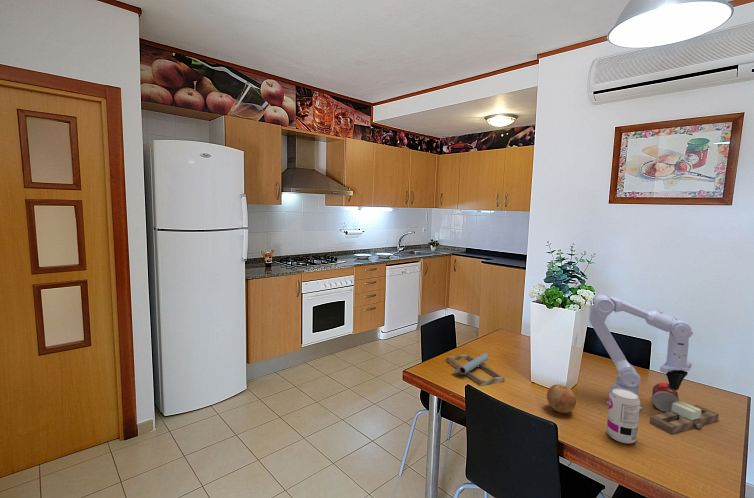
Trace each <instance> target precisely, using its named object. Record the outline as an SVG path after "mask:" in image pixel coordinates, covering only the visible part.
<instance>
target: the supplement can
mask: <svg viewBox="0 0 754 498" xmlns="http://www.w3.org/2000/svg"><path fill="white" fill-rule="evenodd" d="M608 401H609V404H608V411H607V423H606V434H607V435H608V436H609V437H611V439H613V440H615V441H617V442H620V443H622V444H628V445H629V444H633V443H636V442H637V439H638V430H639V420H640V419H639V417H640V410H641V409H640V407H641V401H640V399H639V394H638V395H637V394H635V393H633V392H631V391H629V390H625V389H613V390H612V392H611V393H610V398H609V397H608Z"/></svg>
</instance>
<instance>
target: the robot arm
mask: <svg viewBox="0 0 754 498" xmlns="http://www.w3.org/2000/svg"><path fill="white" fill-rule="evenodd" d="M594 297H595V298H594ZM592 300H593V304H594V305H593V306H592V305H591V304H592ZM612 312H614V313H619V312H625V313H627V314H630V315H633V316H635V317H638V318H640V319H643V320H645V322H646V324H647V325H649V326H651V327H654V328H656V329H658V330H661V331H663V332H665V333H669V334H668V341H667V353H666V354H667V355H666V360H665V361H666V362H665V363H663V365H660V367H659V368H660V369H659V372H661V373H664V374H665V375H666V377H667V381H668V384H669V386H670V388H671V389H674V390H677V391H679V389H680V387H681V384H682V382H683V380H684V379H685V377H687V376H688V373H689V371H691V369H692V363H691V362H689V361H688V353H689V344H690V343H689V339H690V338H691V337H692V336H693V334H694V331H693V330H692V327H691V326H690V324H688V323H686V322H685V321H683V320H682V319H680V318H678V317H676V316H673V317H672V316H670V315H667V314H665V313H664V311H661V310H658V309H657V310H653V309H652V310H650V311H648V310H646V309H643V308H641V307H639V306H637V305H634V304H632V303H629V302H628V301H626V300H623V299H621V298H619V297H618V298H617V297H615V296H612V295H608V294H605V293H597V294H596V295H594V296H593V297H592V299H591V301H590V305H589V317H588V319H589V323H590V325H591V326H592V328H593V330H594V331H595V333H596V335H597V337H598V338H599V340H600V341H601V343H602V345H603V347H604V348H605V350H606V352H607V353H608V355H609V357H610V359H611V360H612V362H613V363H614V365H615V367H616V373H617V374H618V377H617V378H616V381H615V384H613V385H612V386H611V387H609V394H608V399H609V398H610V393H611V392H612V390H613V389H625V390H629V391H631V392H633V393H635V394H637V395H638V396H639V390H640V384H641V382H642V379H641V376H640V374H639V373H638V372H637V371H636V368H635V366H634V365H633V364H631V363H629V361H628V360H627V358H626V356H625V354H624V352H623V351H622V350H621V348H620V347H619V345H618V343H617V342H616V340H615V338H614V336H613V335H612V333H611V331H610V330H609V328H608V327H607V325H606V323H605V322H606V320H607V318H608V316H609V315H610V314H611V313H612ZM606 404H608V405H609V400H607V401H606ZM640 410H643V407H642V406H640Z"/></svg>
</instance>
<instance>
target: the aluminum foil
mask: <svg viewBox="0 0 754 498" xmlns="http://www.w3.org/2000/svg"><path fill="white" fill-rule="evenodd" d="M489 359H490V358H489V355H488V353H482V354H481V355H478V356H476V358H474V359H473V360H472V361H468V362H467V363H465V364H463V365H461V367H460V368H458V369H456V368H455V369H453V370H452V372H454V373H457V374H461V375H465V374H466V373H467V372H471V371H472V370H474V369H476V368H477V367H478V366H479V365H480V364H484V363H485V362H486V361H488V360H489Z"/></svg>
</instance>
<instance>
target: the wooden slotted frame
mask: <svg viewBox="0 0 754 498" xmlns="http://www.w3.org/2000/svg"><path fill="white" fill-rule="evenodd" d="M692 406H694V407H696V408H699V409H701V418H698V419H695V420H690V419H688V418H683V419H679V414H677V413H675V412H672V411H671V410H670V411H669V412H663V413H659V414H654V415H650V416H649V417H650V418H649V424H650V425H653V426H655V427H656V428H658V429H660V430H662V431H664V432H666V433H668V434H670V435H675V434H678V433H681V432H685V431H688V430H691V429H698V430H701V429H702V428H703V426H705V425H708V424H712V423H715V422H718V421H719V416H720V414H719V413H717V412H714V411H712V410H709V409H708V408H705V407H702V406H700V405H698V404H693V405H692Z"/></svg>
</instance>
